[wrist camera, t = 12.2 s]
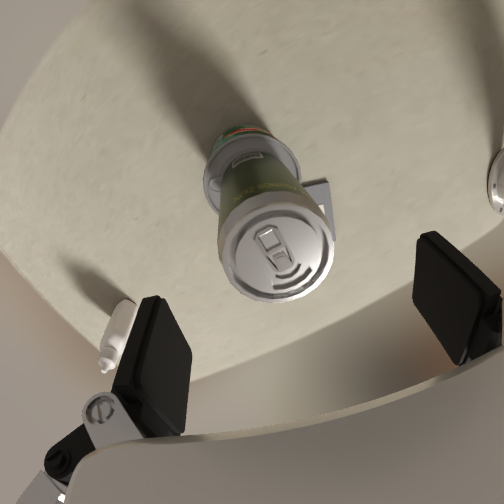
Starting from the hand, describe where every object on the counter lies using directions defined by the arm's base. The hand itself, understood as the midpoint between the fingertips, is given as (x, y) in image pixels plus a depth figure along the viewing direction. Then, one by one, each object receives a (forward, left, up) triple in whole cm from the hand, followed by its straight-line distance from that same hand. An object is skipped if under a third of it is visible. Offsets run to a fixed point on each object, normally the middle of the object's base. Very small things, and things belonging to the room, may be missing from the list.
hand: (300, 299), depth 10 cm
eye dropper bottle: (+23, +17, -26) cm, 39 cm away
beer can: (0, 0, -15) cm, 15 cm away
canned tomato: (0, 0, -26) cm, 26 cm away
